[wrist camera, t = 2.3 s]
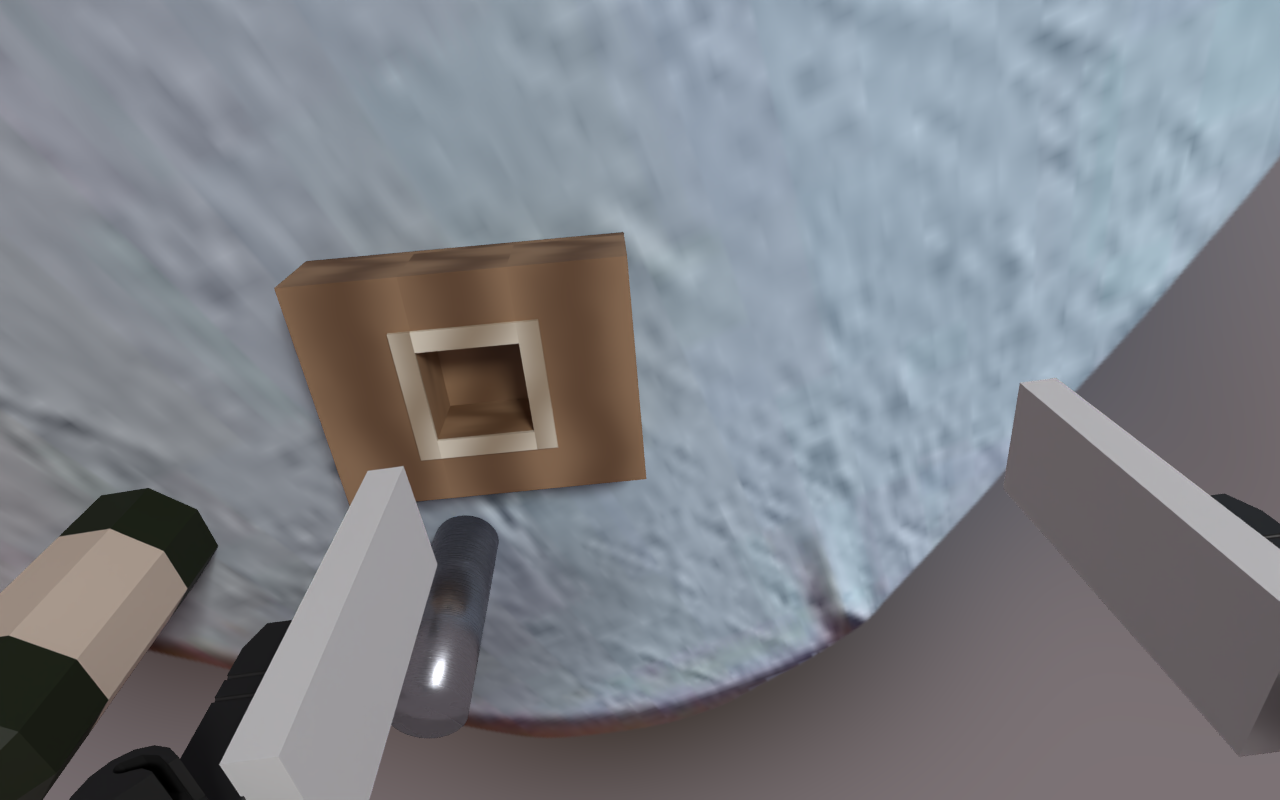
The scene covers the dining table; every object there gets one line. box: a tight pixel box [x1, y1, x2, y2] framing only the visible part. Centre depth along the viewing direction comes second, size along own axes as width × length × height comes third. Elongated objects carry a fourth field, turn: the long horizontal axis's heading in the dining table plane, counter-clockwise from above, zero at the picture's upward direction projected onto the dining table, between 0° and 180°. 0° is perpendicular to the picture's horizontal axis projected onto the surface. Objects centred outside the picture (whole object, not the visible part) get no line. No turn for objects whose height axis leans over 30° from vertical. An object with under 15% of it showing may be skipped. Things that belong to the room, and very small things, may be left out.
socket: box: [274, 232, 646, 505], centre depth 41 cm, size 18×14×5 cm
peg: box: [391, 516, 499, 738], centre depth 43 cm, size 4×4×14 cm
